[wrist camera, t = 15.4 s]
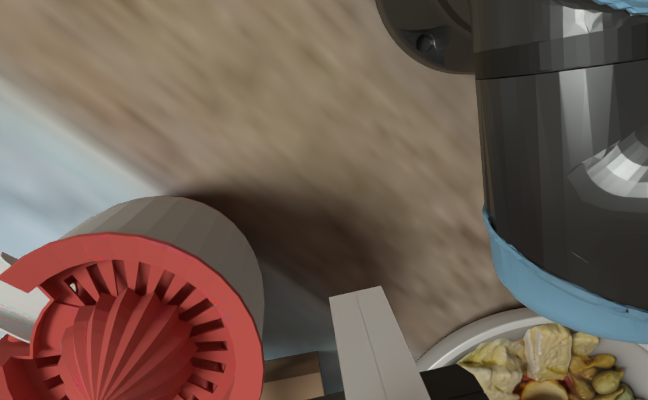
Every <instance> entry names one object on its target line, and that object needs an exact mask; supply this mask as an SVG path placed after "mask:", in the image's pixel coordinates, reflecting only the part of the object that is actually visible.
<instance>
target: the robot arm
mask: <svg viewBox="0 0 648 400" xmlns="http://www.w3.org/2000/svg"><path fill="white" fill-rule="evenodd" d="M375 1H376V5H377V9H378V12H379V15H380V17H381V20H382V22H383V24H384V26H385V28H386V29H387V31H388V33H389V34H390V36H391V37H392V39H393V40H394V41H395V42H396V44H397V45H398V46H399V47H400V48H401V49H402V50H403V51H404V52H405V53H406V54H408V55H409V56H410V57H411V58H413V59H414V60H416V61H417V62H419V63H421V64H423V65H425V66H427V67H429V68H431V69H434V70H437V71H441V72H446V73H452V74H471V73H475V75H476V77H475V78H476V79H475V83H476V95H477V106H478V119H479V133H480V146H481V160H482V174H483V187H484V206H483V219H484V222H485V225H486V227H487V229H488V231H489V237H490V245H491V252H492V259H493V265H494V268H495V271H496V273H497V275H498V277H499V279H500V281H501V282H502V283H503V284H504V285H505V286H506V287H507V288H508V289H509V290H510V292H511V293H512V294H513V296H514V297H515V298H516V299H517V300H518V301H520V302H521V303H522V304H523V305H525V306H526V307H528V308H529V309H531V310H532V311H534V312H536V313H537V314H539V315H541V316H543V317H544V318H547V319H549V320H551V321H553V322H555V323H557V324H560V325H562V326H565V327H567V328H570V329H573V330H576V331H579V332H582V333H585V334H589V335H592V336H596V337H600V338H604V339H609V340H615V341H620V342H627V343H636V344H648V0H375ZM329 302H330V308H331V314H332V320H333V326H334V332H335V338H336V344H337V350H338V356H339V362H340V368H341V374H342V380H343V386H344V391H342V392H338V393H333V394H329V395H325V396H320V397H316V398H311V399H307V400H489V398H488V396H487V395H486V393H484V390H483V388H482V387H481V385H480V384H479V382H478V380H477V379H476V377H475V376H474V374H472V373H470V372H469V371H467V370H466V369H464V368H463V367H461V366H460V365H458V364H453V365H449V366H444V367H440V368H436V369H431V370H427V371H422V372H419V371H418V369H417V367H416V364H415V362H414V360H413V358H412V355H411V353H410V351H409V348H408V346H407V344H406V342H405V339H404V337H403V335H402V332H401V330H400V328H399V326H398V323H397V321H396V319H395V316H394V314H393V312H392V310H391V307H390V305H389V303H388V300H387V298H386V296H385V294H384V291H383V289H382V287H381V286H377V287H373V288H368V289H364V290H359V291H355V292H351V293H346V294H342V295H337V296H333V297H329Z"/></svg>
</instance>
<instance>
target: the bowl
mask: <svg viewBox="0 0 648 400" xmlns="http://www.w3.org/2000/svg"><path fill="white" fill-rule="evenodd" d="M415 364H416V367H417V369H418V371H419V372H422V371H427V370H431V369H436V368H440V367H444V366H449V365H453V364H458V365H460V366H461V367H463V368H464V369H466V370H467V371H469V372H470V373H472V374H474V376H475V377H476V379H477V380H478V382H479V384H480V385H481V387H482V388H483V390H484V393H486V395H487V396H488V398H489V400H648V344H636V343H627V342H620V341H615V340H609V339H604V338H600V337H596V336H592V335H589V334H585V333H582V332H579V331H576V330H573V329H570V328H567V327H565V326H562V325H560V324H557V323H555V322H553V321H551V320H549V319H547V318H544V317H543V316H541V315H539V314H537V313H536V312H534V311H532V310H531V309H529V308H520V309H514V310H509V311H504V312H500V313H497V314H494V315H490V316H487V317H485V318H482V319H479V320H477V321H475V322H472V323H470V324H468V325H466V326H464V327H462V328H460V329H458V330H457V331H455V332H453V333H452V334H450V335H448V336H447V337H445V338H444V339H442V340H441V341H440V342H438V343H437V344H436V345H434V346H433V347H432V348H431V349H430V350H428V351H427V352H426V353H425V354H424V355H423V356H422V357H421V358H420V359H419V360H418V361H417V362H416V363H415Z"/></svg>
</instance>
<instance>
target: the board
mask: <svg viewBox="0 0 648 400" xmlns="http://www.w3.org/2000/svg"><path fill="white" fill-rule="evenodd" d="M264 364H265V372H264V381H263V390H262V395H261V398H260V400H307V399H311V398H316V397H320V396H325V392H324V386H323V381H322V375H321V370H320V364H319V359H318V353H317V351H316V352H311V353H305V354H300V355H295V356H290V357H284V358H279V359H274V360H268V361H264Z"/></svg>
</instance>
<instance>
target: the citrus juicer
mask: <svg viewBox="0 0 648 400" xmlns="http://www.w3.org/2000/svg"><path fill="white" fill-rule="evenodd" d="M264 307H265V302H264V289H263V280H262V274H261V271H260V268H259V265H258V262H257V259H256V256H255V254H254V251H253V250H252V248H251V246H250V244H249V243H248V241H247V239H246V237H245V236H244V235H243V233H242V231H241V230H240V229H239V228H238V227H237V226H236V225H235V223H234V222H233V221H232V220H231V219H230V218H228V217H227V216H226V215H224V214H223V213H222V212H221V211H219V210H218V209H216V208H214V207H212V206H210V205H208V204H206V203H204V202H201V201H197V200H194V199H191V198H186V197H177V196H155V197H145V198H138V199H134V200H131V201H127V202H124V203H120V204H117V205H115V206H113V207H111V208H109V209H107V210H105V211H103V212H101V213H99V214H97V215H96V216H94V217H92V218H90V219H88V220H86V221H85V222H83V223H82V224H80V225H79V226H77V227H76V228H74V229H73V230H72V231H70V232H69V233H67V234H66V235H64V236H63V237H61V238H60V239H58V240H57V241H54V242H50V243H48V244H46V245H44V246H42V247H40V248H38V249H36V250H34V251H32V252H30V253H28V254H27V255H25V256H23V257H21V258H20V259H19V260H18V259H16V258H14V257H12V256H10V255H8V254H6V253H3V252H2V253H1V254H0V330H1V331H3V332H5V333H7V334H6V335H5V336H4V337H3V338H2V339H1V340H0V400H260V398H261V395H262V390H263V381H264V372H265V364H264V354H263V345H262V333H263V320H264Z"/></svg>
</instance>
